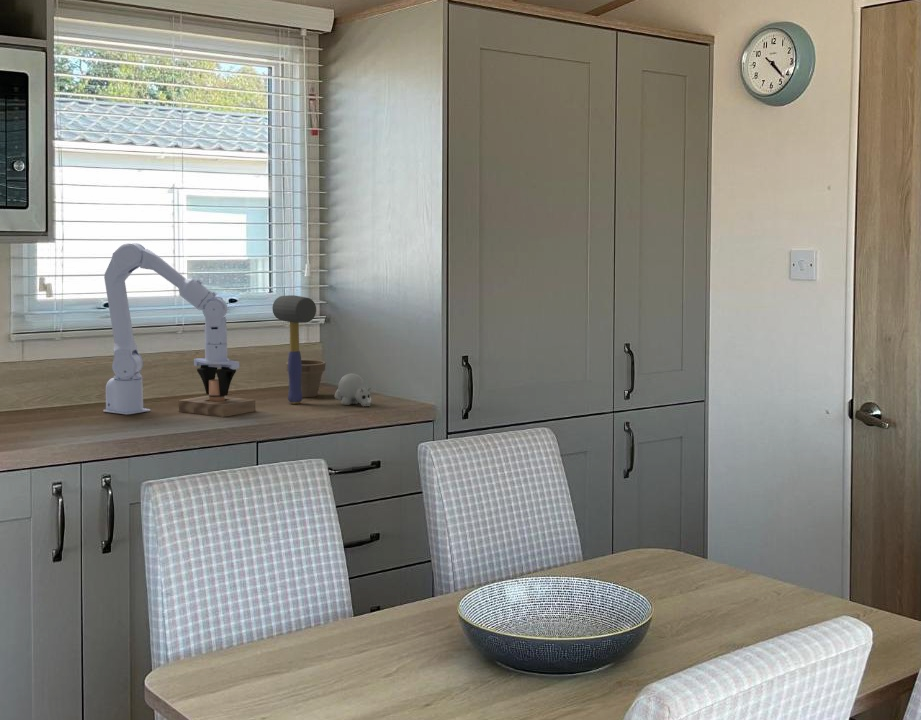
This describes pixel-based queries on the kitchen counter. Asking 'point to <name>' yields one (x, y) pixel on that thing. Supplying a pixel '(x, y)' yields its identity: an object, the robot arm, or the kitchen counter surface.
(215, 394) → the peg
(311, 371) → the flower pot
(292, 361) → the rubber mallet
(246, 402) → the socket board
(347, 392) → the chubby cartoon animal
